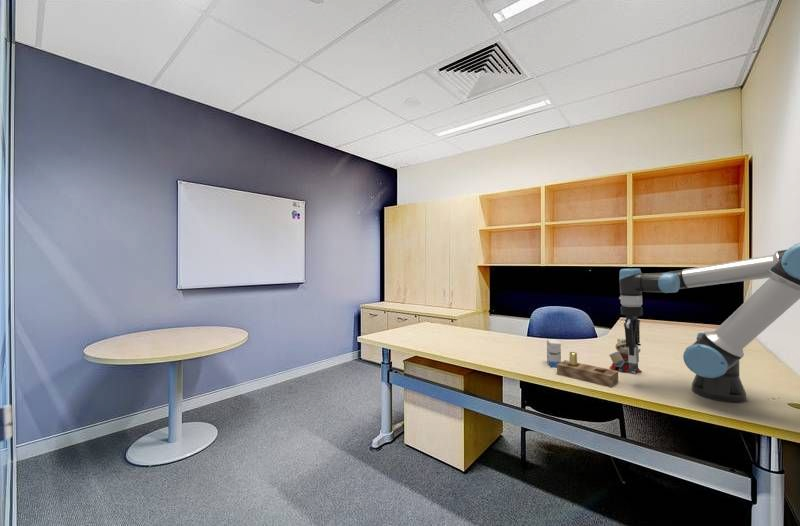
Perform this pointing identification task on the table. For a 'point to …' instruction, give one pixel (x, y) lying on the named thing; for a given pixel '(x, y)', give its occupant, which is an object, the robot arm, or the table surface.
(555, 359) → the ink box
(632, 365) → the steel peg
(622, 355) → the figurine
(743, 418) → the table surface
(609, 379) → the hole block
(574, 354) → the brass peg
